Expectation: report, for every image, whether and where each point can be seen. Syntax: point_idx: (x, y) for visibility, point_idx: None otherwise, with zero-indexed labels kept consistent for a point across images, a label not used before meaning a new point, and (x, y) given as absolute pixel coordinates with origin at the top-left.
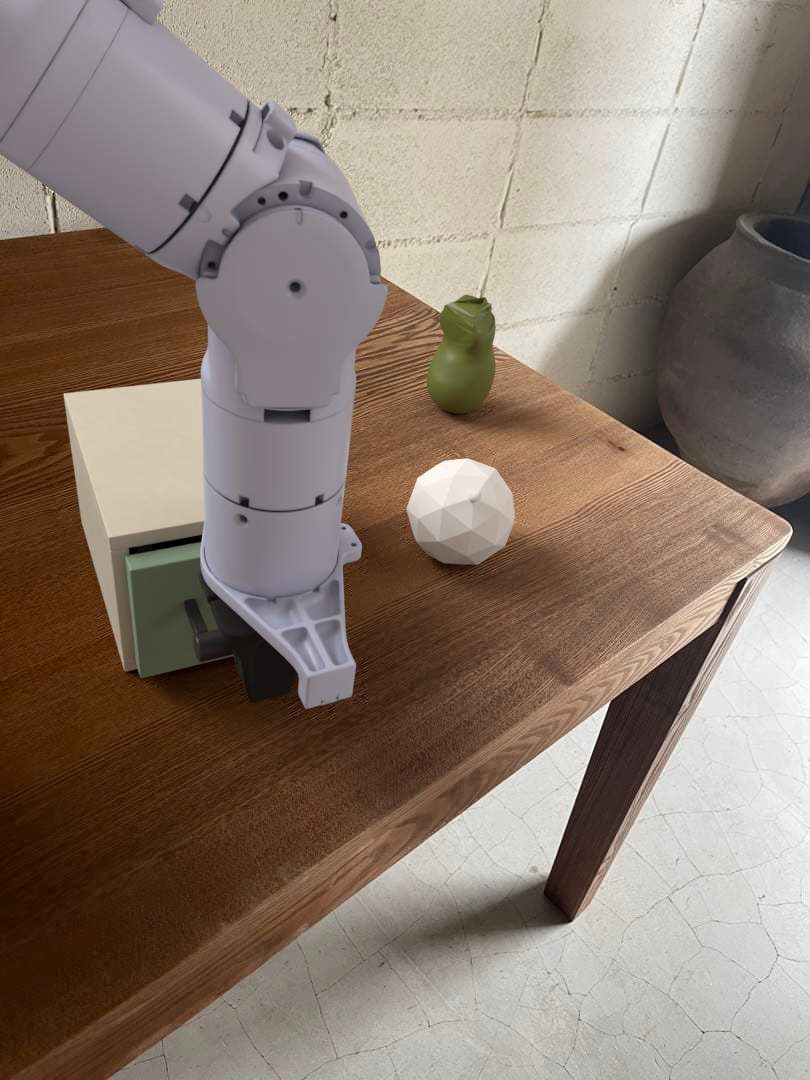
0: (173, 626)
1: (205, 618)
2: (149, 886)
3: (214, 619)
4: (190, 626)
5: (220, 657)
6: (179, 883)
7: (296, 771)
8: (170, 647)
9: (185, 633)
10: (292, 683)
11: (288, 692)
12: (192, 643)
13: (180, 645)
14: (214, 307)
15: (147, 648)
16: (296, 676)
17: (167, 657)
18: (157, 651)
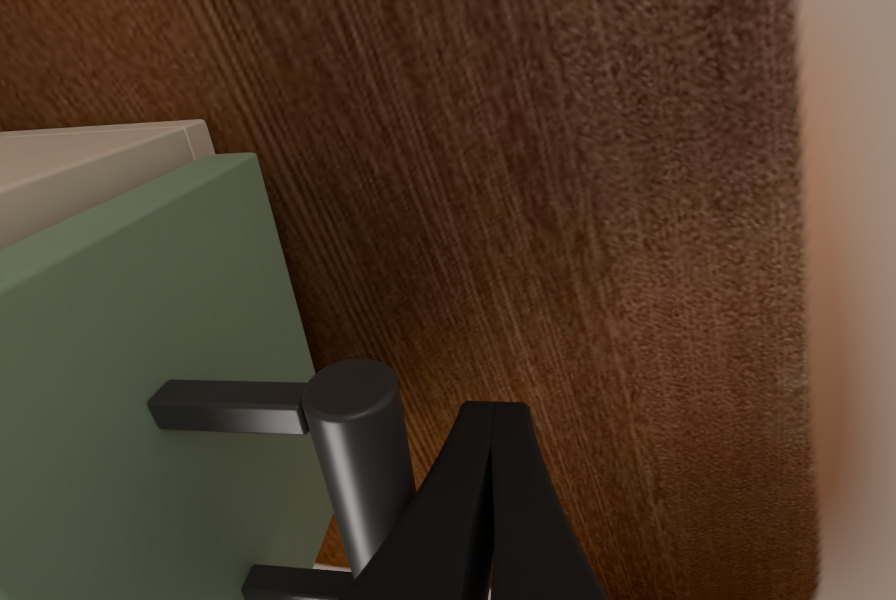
0: (287, 544)
1: (269, 502)
2: (693, 518)
3: (268, 481)
4: (284, 512)
5: None
6: (712, 493)
7: (603, 303)
8: (313, 500)
9: (293, 503)
10: (533, 429)
11: (529, 409)
12: (304, 465)
13: (308, 484)
14: None
15: (317, 535)
16: (537, 445)
17: (324, 482)
18: (319, 513)
